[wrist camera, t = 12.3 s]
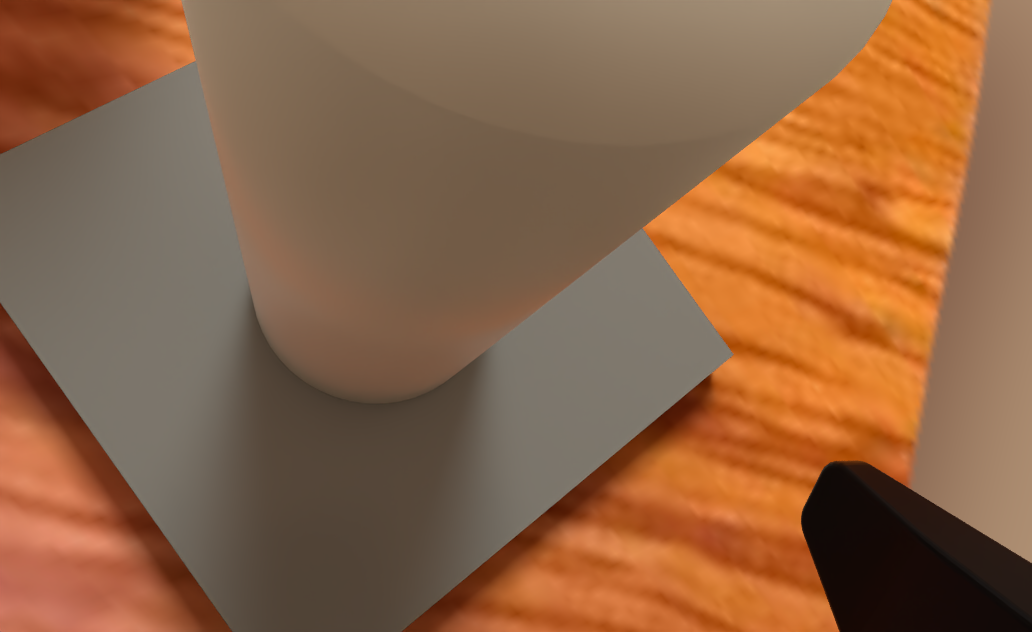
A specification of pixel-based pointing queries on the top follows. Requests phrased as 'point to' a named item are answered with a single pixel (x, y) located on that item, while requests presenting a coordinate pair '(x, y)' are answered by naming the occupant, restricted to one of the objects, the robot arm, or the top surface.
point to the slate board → (297, 405)
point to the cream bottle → (475, 154)
